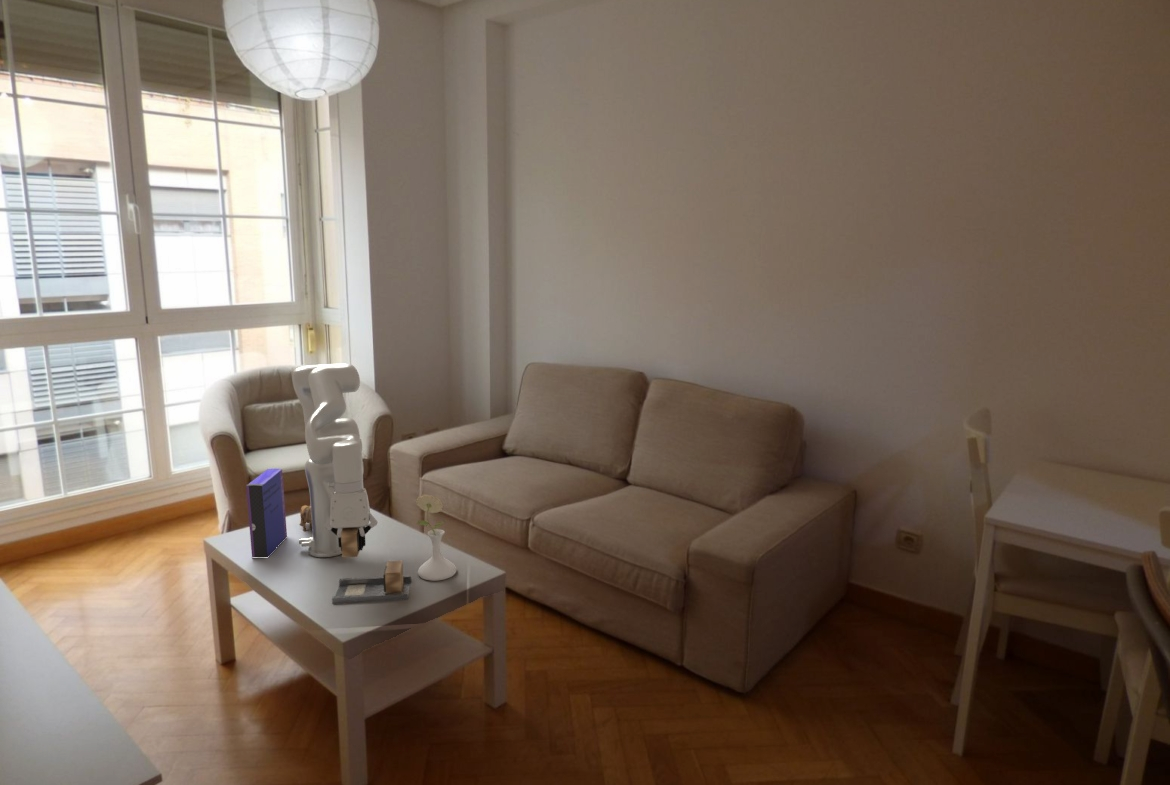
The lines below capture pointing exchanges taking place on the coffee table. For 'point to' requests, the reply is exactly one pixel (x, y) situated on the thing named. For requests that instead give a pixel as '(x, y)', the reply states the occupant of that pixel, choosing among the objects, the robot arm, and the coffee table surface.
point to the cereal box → (266, 512)
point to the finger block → (350, 542)
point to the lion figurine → (306, 516)
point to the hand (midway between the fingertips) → (352, 548)
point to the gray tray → (368, 590)
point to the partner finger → (393, 577)
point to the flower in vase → (434, 544)
